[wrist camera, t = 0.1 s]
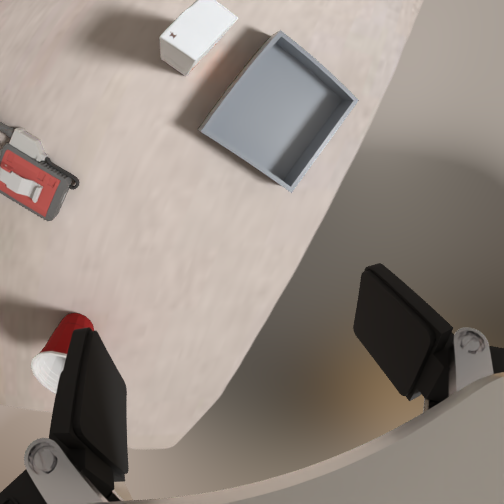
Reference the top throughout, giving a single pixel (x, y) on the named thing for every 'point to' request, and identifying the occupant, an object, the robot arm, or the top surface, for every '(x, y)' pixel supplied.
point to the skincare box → (194, 34)
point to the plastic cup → (57, 351)
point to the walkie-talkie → (32, 174)
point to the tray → (280, 111)
